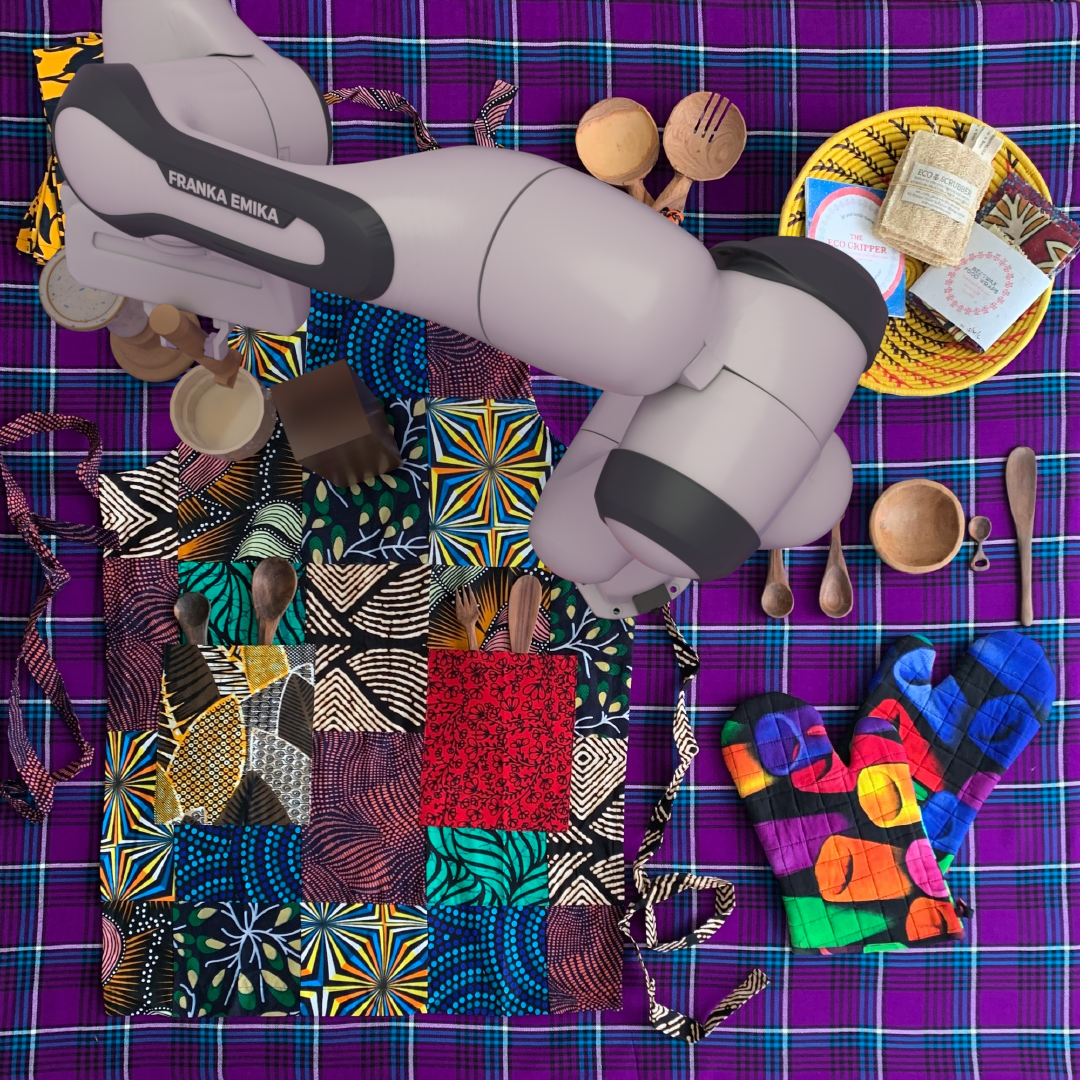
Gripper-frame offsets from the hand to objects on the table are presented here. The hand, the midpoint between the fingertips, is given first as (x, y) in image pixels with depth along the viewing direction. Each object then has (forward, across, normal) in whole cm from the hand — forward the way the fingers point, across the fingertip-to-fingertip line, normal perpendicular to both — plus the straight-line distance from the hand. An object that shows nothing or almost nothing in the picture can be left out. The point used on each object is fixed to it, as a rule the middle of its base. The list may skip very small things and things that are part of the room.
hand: (195, 350), depth 81 cm
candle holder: (+24, -24, +36) cm, 49 cm away
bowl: (+30, -12, +30) cm, 43 cm away
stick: (+6, 0, +7) cm, 9 cm away
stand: (+29, +7, +30) cm, 42 cm away
